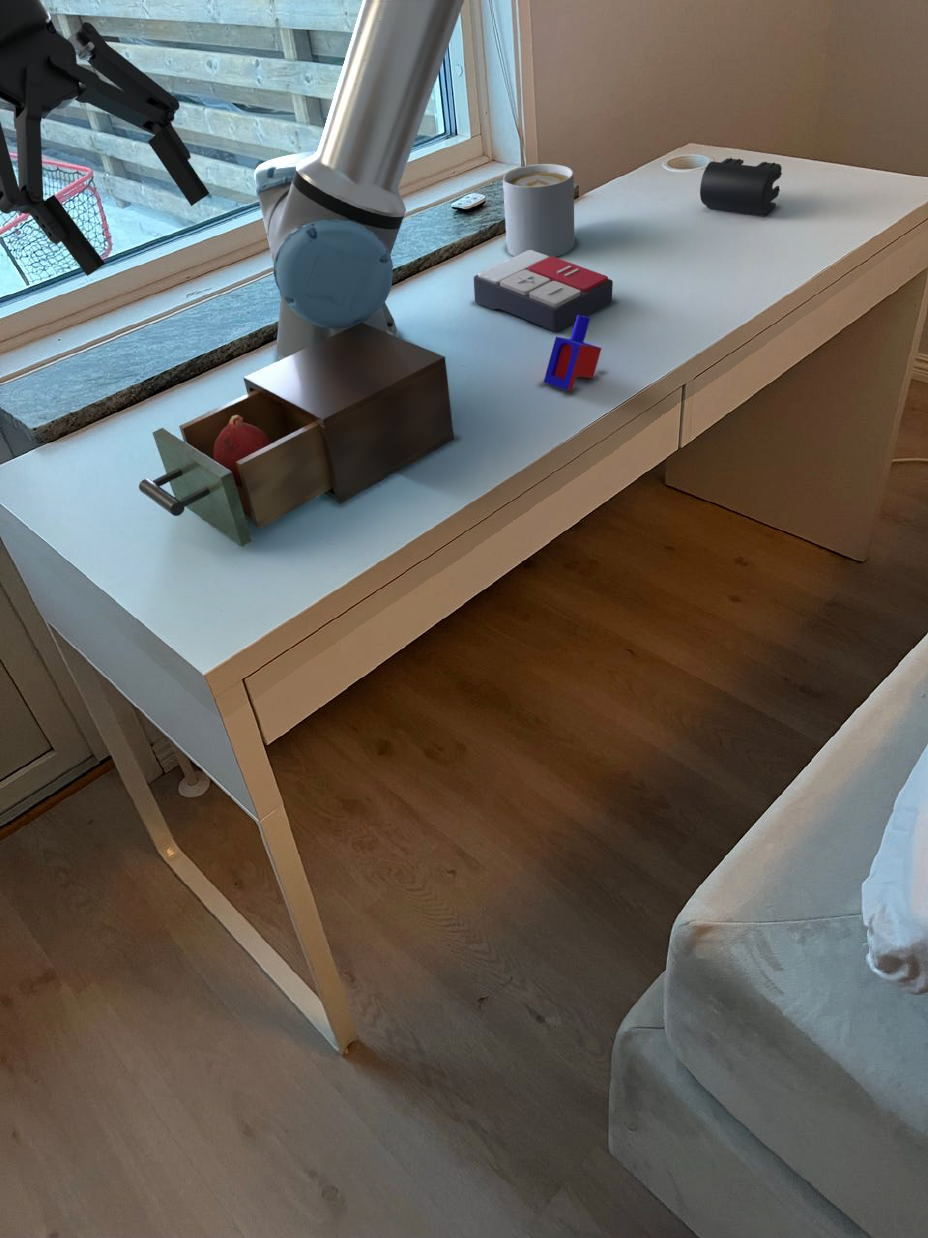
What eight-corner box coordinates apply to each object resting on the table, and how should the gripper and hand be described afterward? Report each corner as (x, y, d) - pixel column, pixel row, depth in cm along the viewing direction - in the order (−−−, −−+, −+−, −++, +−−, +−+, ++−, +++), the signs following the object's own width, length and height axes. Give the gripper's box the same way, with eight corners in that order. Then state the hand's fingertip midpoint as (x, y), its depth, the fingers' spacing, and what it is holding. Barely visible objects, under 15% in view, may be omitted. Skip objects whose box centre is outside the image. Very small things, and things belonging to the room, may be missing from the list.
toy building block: (588, 392, 111) (608, 323, 108) (567, 391, 108) (587, 318, 105) (564, 384, 113) (584, 315, 110) (543, 382, 110) (562, 311, 107)
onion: (254, 510, 93) (234, 438, 88) (212, 495, 96) (189, 425, 90) (293, 479, 97) (276, 408, 91) (251, 466, 99) (232, 396, 94)
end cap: (697, 214, 146) (700, 167, 141) (717, 199, 150) (721, 152, 145) (760, 223, 141) (766, 174, 136) (780, 207, 145) (785, 159, 140)
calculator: (556, 304, 118) (471, 270, 126) (555, 337, 120) (473, 302, 129) (614, 274, 123) (529, 243, 131) (613, 306, 126) (530, 274, 134)
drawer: (204, 568, 89) (179, 498, 83) (138, 518, 96) (112, 450, 91) (361, 479, 97) (348, 411, 92) (290, 439, 105) (274, 374, 99)
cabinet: (340, 504, 96) (322, 419, 90) (264, 457, 104) (242, 377, 98) (454, 439, 103) (445, 356, 97) (374, 400, 111) (361, 321, 105)
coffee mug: (546, 264, 137) (544, 190, 130) (493, 251, 142) (488, 180, 135) (601, 232, 144) (601, 161, 137) (548, 221, 149) (546, 153, 142)
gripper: (-137, 32, 70) (63, 291, 80) (111, -76, 83) (259, 159, 92) (-157, 76, 76) (33, 312, 85) (78, -31, 88) (221, 186, 98)
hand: (150, 233), depth 89 cm, fingers open, 13 cm apart
